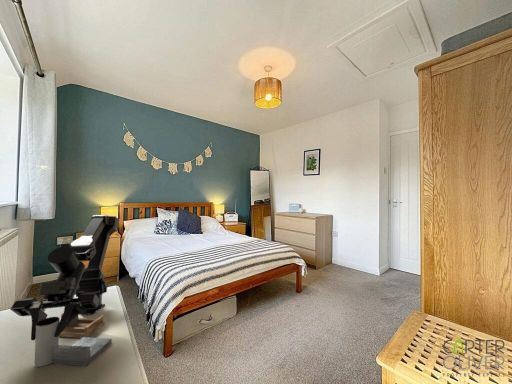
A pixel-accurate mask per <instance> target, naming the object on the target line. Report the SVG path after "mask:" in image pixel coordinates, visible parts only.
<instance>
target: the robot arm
mask: <svg viewBox="0 0 512 384" xmlns="http://www.w3.org/2000/svg"><path fill="white" fill-rule="evenodd" d="M119 225H120V219H119V218H118V217H117V216H116V215H107V214H94V215H92V217H91V220H90V222H89V224H88V226H87V227H86V228H85V230H84V231H83V233H82V234H81V236H80V237H79V238H77V239H74V240H73V241H72V242H71V243H62V244H61V245H60V246H59V247H57V248H55V249H53V250H52V251H51V252H49V253H48V255H47V261H48V262H49V263H50V266H51V267H53V268H54V269H55V271H56V272H57V273H59V274H58V277H57V278H56V279H54V280H52V281H45V282H44V281H42V282H41V283H40V287H39V290H38V294H37V296H43V299H45V301H40V300H38V299H37V298H36V297H26V298H19V299H17V300H15V301H14V302H13V304H12V305H11V307H10V309H9V310H10V311H11V312H13V313H15V314H16V315H17V316H19V317H29V316H30V317H31V318H30V319H31V332H30V341H35V337H36V324H37V323H38V322H39V321H41V320H43V319H46V318H48V313H46V312H45V311H46V309H54V308H63V316H62V318H61V317H60V320H59V325H58V327H57V329H56V332H55V335H54V337H58V336H59V335H60V333H61V332H62V331H63V330H64V329H65V328H66V326H67V325H68V324H69V323H70V322H71V321H72V320H73V319H74V318H75V317H76V316H77V315H78V314H83V315H84V314H86V315H88V314H89V315H93V314H95V313H96V311H97V312H98V311H100V310H101V309H103V308H104V307H106V304H104V303H102V299H103V298H102V297H103V294H105V293H107V291H108V282H107V281H106V279H105V274H104V271H103V264H104V260H105V257H106V254H107V249H108V247H109V241H110V238H111V236H112V235H113V234H115V232H116V231H117V228H118V227H119ZM85 261H86V262H88V264H87V267H86V265H85V264H84V262H85ZM75 297H76V298H75ZM99 309H100V310H99ZM78 316H79V315H78Z"/></svg>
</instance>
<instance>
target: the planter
mask: <svg viewBox="0 0 512 384" xmlns="http://www.w3.org/2000/svg"><path fill="white" fill-rule="evenodd" d="M60 320H61V318H60V317H59V316H51V317H47V318H46V319H43V320H41V321H39V322H38V323H37V324H36V337H35V340H34V341H35V342H34V360H33V362H34V366H35V367H38V368H39V367H45V366H47V365H50V364H51V363H54V347H56V346H57V345H60V344H59V343H60V342H59V339H60V338H59V336H58V337H54V335H55V332H56V329H57V327H58V325H59V322H60Z"/></svg>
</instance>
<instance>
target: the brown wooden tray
mask: <svg viewBox="0 0 512 384" xmlns="http://www.w3.org/2000/svg"><path fill="white" fill-rule="evenodd" d="M104 325H105V315H103V314H101V315H100V316H98V317H97V318H84V317H83V318H81V317H78V323H77V324H76V325H74V326H73V327H66V328H65V329H64V330H63V331H62V332H61V333H60V335H59V337H63V338H64V337H65V338H79V339H81V338H82V337H90V336H92V334H94V333H95V332H97V331H98V330H99V329H100V328H102V327H103V326H104Z"/></svg>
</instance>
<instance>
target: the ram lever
mask: <svg viewBox="0 0 512 384" xmlns="http://www.w3.org/2000/svg"><path fill="white" fill-rule="evenodd" d="M63 313H64V312H63ZM63 313H61V315H60V319H61V318H62V316H63ZM79 314H80V313H79ZM79 314H78V315H77V316H76V317H75V318H74V319H73V320H72V321H71V322H70V323H69V324H68V325H67V326H66V327H73V326H74V325H76V324H77V323H78V318H79Z"/></svg>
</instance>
